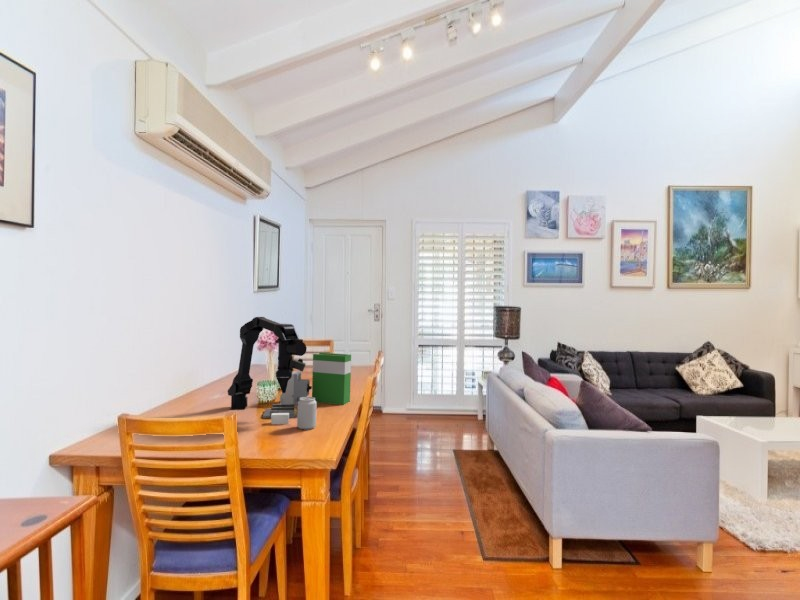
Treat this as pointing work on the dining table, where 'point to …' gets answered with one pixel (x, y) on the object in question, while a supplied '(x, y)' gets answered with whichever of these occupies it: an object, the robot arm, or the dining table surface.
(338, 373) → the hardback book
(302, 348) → the robot arm
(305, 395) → the circuit breaker
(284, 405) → the rack
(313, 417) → the can
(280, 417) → the white rectangular prism
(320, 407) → the dining table surface
